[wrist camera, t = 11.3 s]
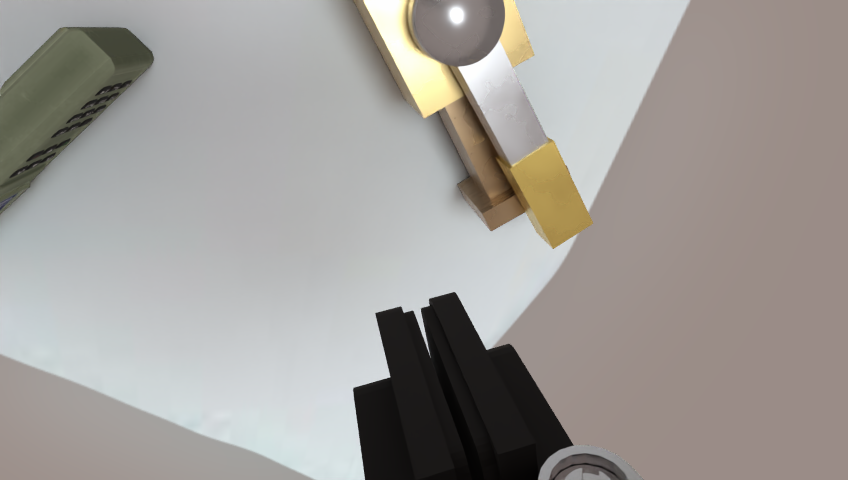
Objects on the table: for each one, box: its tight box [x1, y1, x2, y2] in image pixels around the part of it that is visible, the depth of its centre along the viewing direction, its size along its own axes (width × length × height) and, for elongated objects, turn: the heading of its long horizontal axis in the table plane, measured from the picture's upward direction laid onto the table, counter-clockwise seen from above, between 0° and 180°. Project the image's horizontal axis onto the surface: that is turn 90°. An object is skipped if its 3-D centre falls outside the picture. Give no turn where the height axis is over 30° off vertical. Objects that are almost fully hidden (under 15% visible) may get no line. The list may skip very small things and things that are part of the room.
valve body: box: [353, 0, 570, 231], centre depth 29 cm, size 7×25×6 cm, turn 28°
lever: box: [407, 0, 593, 249], centre depth 28 cm, size 16×4×2 cm, turn 31°
